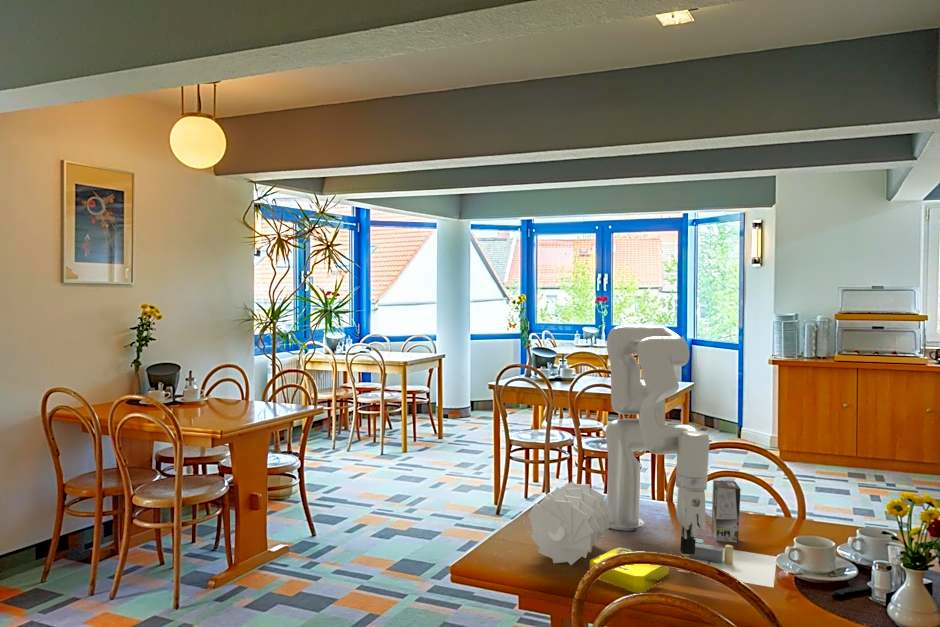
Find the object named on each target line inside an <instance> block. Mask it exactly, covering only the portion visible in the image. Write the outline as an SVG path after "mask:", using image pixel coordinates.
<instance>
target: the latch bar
mask: <svg viewBox="0 0 940 627" xmlns="http://www.w3.org/2000/svg"><path fill="white" fill-rule="evenodd" d="M724 548H725V547H721V546H716V545H715V546H714V545H709V544H705V543H704V544H699V543H695V554H682V552H681V551H680V556H681V557H684V556H685V557H691V558H697V559H702V560H708V561H713V562H719V563H722V561H723V552H724Z"/></svg>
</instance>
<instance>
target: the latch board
mask: <svg viewBox="0 0 940 627" xmlns="http://www.w3.org/2000/svg"><path fill="white" fill-rule="evenodd" d="M695 543H699V544H705V540H704V539H702V538H696V540H695ZM723 548H724V552H723V561H722V563H719V562H713V561H708V560H702V559H697V558H691V557H687V558H690V559H694V560H698V561H701V562H704V563H706V564H709V565H712V566H714V567H716V568H719V569H721V570H723V571H725V572H727V573H729V574H730V575H732V576H734V577H735V578H737V579H738V580H740V581H742V582H741V583H746V584H750V585H756V586H762V587H767V588H772V589H774V587H775V579H776V569H777V562H775V558H776V557H777V556H776V555H775V556H774V555H768V554H763V553H755V552H749V551H743V550H737V549H734V546H733V545H731V544H725V545H724V547H723ZM683 557H685V556H683ZM676 571H677V572H682V573H688V574H690V573H689V572H686V571H682V570H677V569H676Z"/></svg>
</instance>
